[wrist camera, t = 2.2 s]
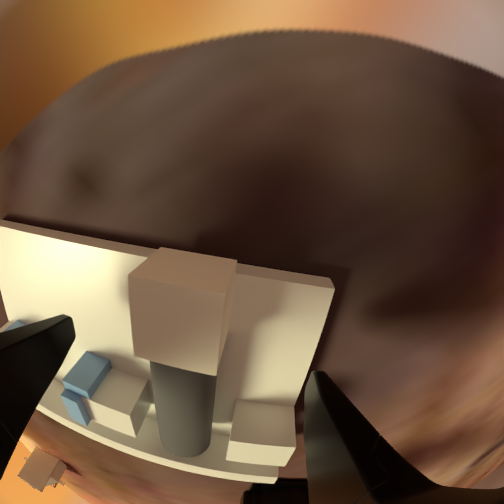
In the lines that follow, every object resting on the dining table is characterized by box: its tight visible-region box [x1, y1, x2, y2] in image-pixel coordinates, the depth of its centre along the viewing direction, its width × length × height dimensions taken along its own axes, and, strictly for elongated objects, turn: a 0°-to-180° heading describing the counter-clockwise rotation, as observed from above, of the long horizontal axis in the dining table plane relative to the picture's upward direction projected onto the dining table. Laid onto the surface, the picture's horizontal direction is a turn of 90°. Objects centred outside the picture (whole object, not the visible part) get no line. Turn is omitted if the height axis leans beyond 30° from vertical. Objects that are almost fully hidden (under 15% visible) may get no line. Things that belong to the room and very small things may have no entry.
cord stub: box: [128, 247, 237, 457], centre depth 10 cm, size 3×10×3 cm, turn 171°
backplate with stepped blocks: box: [0, 220, 335, 484], centre depth 11 cm, size 18×11×4 cm, turn 82°
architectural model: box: [18, 447, 67, 492], centre depth 19 cm, size 3×7×8 cm, turn 95°
